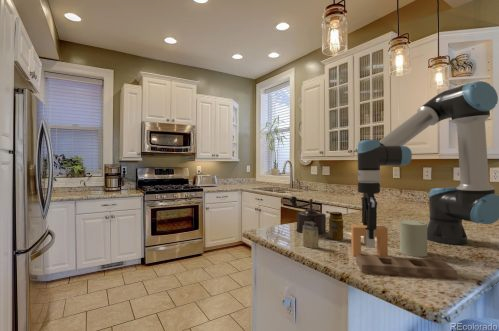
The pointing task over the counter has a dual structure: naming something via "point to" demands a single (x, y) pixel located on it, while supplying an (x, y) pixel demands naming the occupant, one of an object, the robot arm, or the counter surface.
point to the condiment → (335, 227)
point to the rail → (405, 266)
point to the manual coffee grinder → (309, 217)
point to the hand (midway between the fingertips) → (368, 245)
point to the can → (413, 238)
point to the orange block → (360, 231)
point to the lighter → (310, 235)
